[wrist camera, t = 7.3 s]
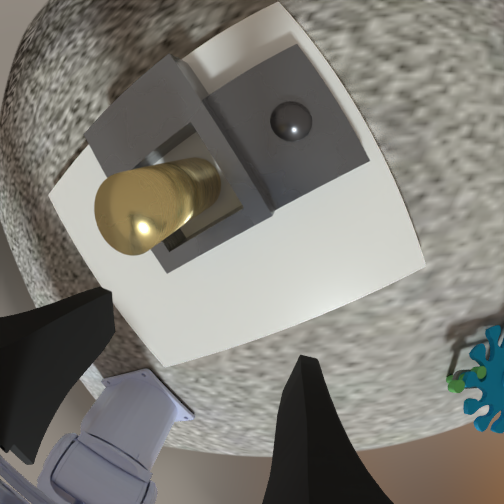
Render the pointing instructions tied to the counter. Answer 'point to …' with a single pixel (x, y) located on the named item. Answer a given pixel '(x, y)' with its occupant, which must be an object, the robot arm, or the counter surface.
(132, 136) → the plate
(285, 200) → the plate
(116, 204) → the pin
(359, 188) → the mat
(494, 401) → the gear
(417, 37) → the counter surface
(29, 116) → the counter surface
